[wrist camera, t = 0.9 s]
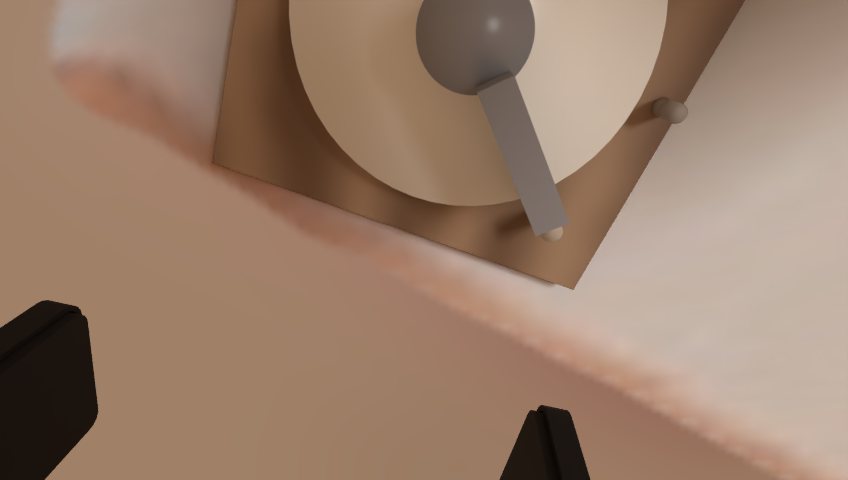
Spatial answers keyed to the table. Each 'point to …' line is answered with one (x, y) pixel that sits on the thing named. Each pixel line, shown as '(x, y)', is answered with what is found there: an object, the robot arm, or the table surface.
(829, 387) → the table surface
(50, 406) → the robot arm
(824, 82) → the table surface
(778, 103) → the table surface
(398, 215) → the dial board
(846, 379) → the table surface
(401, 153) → the dial
